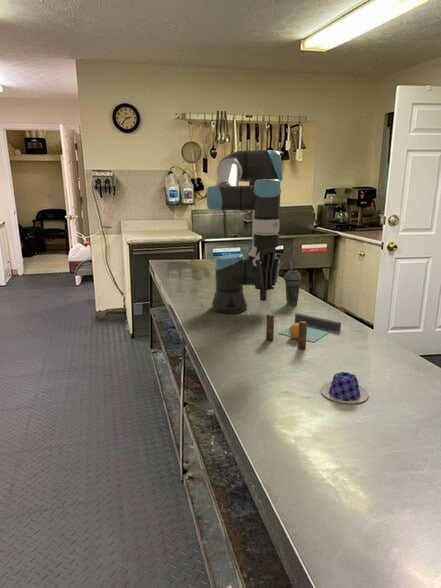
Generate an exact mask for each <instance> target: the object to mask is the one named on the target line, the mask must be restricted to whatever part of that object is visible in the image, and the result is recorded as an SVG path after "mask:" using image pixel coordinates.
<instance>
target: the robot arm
mask: <svg viewBox="0 0 441 588" xmlns="http://www.w3.org/2000/svg"><path fill="white" fill-rule="evenodd" d="M216 175H217V179H216V183H215V184H214V185H210V186H208V187H207V188H206V207H207V209H208V210H209V211H218V212H220V211H252V227H251V228H252V232H251V233H252V235H251V238H252V242H251V251H249V252H248V254H247V255H248V257H244V254H242V253H231V254H223V255H221V256H218V257H217V259H215V268H214V270H215V293H214V296H213V300H212V302H211V309H212V310H213V311H214V312H216V313H219V314H220V313H221V314H239V313H243V312H245V311H247V310H248V302H247V300H246V296H245V293H244V286H254V288H255V289H256V290H259V310H261V311H263V312H264V311H265V312H268V311H271V295H272V293H271V292H272V290H275V287H274V286H276V284H277V282H278V279H279V274H280V273H279V272H280V265H281V253H279V254H278V253H277V249H276V248H278V247H279V246H280V234H279V232H280V225H281V224H280V218H281V217H280V210H281V194H282V189H281V182H282V181H283V179H284V178H283V165H282V158H281V154H280V152H279V151H278V150H271V149H263V150H260V149H259V150H237V151H233V152H231V153H229V154H228V155H226V156H224V157H223V158H222V159H221V160H220V161H219V162H218V165H217V167H216ZM239 182H245V183H246V182H247V183H248V185H240V184H239Z"/></svg>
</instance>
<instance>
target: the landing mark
mask: <svg viewBox="0 0 441 588" xmlns="http://www.w3.org/2000/svg"><path fill="white" fill-rule="evenodd" d="M289 329H290V327H287V328H286V329H284V330H282V331H280V332H279V333H278V334H279V335H283V336H287V337H290V338H293V337H292V336H291V335H290V333H289ZM330 333H332V330H328V329H324V328H320V327H315V326H311V325H307V334H306V342H311V343H316V341H317V342H318V340H320V339H322V338H323V337H325V336H326V335H328V334H330Z"/></svg>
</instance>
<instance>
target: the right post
mask: <svg viewBox="0 0 441 588" xmlns="http://www.w3.org/2000/svg"><path fill="white" fill-rule="evenodd" d="M306 334H307V322H304V321H300V322H299V333H298V339H297V349H298V350H299V351H300V350H301V351H304V350H306V349H307V341H306Z"/></svg>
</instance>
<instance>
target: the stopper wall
mask: <svg viewBox="0 0 441 588" xmlns="http://www.w3.org/2000/svg"><path fill="white" fill-rule="evenodd" d="M294 315H295V316H294V323H299V322H300V321H304V322H307V325H309V326H313V327H317V328H322V329H326V330H331V331H332V332H333V331H334V332H338V333H339V332H340V331H341V327H342V326H341V325H342V322H340V321H335V320H331V319H326V318H321V317H316V316H311V315H308V314H302V313H296V314H294Z"/></svg>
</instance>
